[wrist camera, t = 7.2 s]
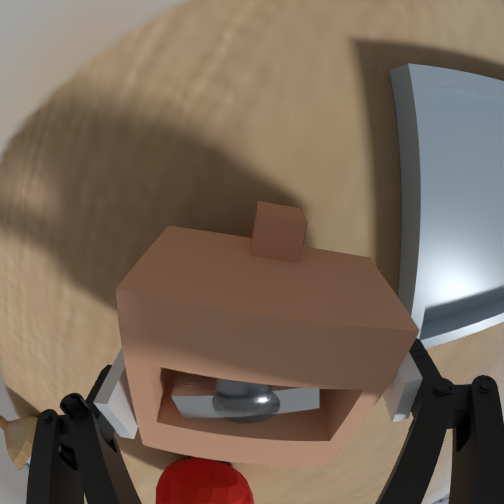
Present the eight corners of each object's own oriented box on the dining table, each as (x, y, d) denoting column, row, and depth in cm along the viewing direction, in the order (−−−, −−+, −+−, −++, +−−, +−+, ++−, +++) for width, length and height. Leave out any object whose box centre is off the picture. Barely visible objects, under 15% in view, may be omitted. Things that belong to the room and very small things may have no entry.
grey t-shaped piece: (199, 286, 18) (166, 387, 11) (295, 273, 18) (319, 375, 10) (209, 321, 19) (187, 424, 12) (299, 311, 19) (319, 415, 11)
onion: (66, 495, 24) (-25, 454, 17) (68, 447, 32) (-13, 405, 25) (87, 485, 23) (-23, 437, 15) (88, 429, 31) (-6, 380, 23)
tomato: (170, 477, 31) (159, 536, 22) (155, 435, 26) (135, 515, 17) (251, 485, 31) (249, 547, 22) (259, 447, 26) (259, 532, 17)
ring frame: (167, 370, 18) (143, 445, 12) (171, 188, 13) (112, 233, 8) (316, 390, 18) (327, 465, 13) (379, 224, 13) (441, 285, 8)
